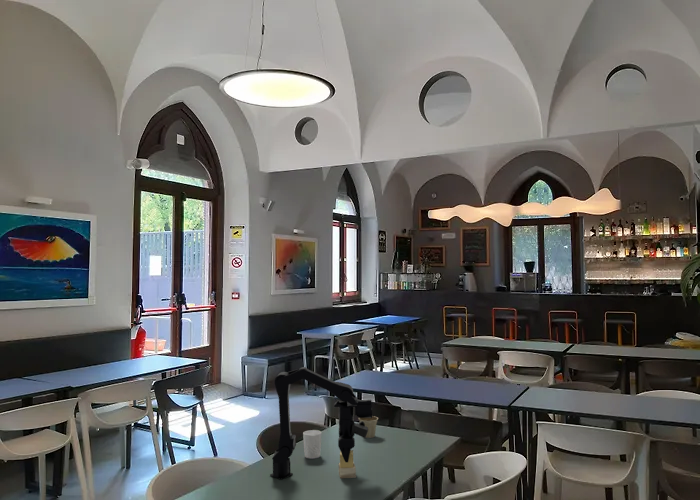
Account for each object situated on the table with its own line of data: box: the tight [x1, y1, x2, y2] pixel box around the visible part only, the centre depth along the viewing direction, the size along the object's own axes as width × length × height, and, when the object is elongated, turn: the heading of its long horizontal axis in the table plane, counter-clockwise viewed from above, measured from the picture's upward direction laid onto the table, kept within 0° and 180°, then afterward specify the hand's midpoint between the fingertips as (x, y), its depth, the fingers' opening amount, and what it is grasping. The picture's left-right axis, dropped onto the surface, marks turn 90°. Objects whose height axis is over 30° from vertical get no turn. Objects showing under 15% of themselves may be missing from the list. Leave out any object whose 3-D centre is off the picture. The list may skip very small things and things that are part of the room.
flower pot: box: [358, 415, 379, 439], centre depth 266 cm, size 9×9×9 cm
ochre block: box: [339, 449, 354, 468], centre depth 216 cm, size 5×5×5 cm
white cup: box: [302, 429, 322, 460], centre depth 239 cm, size 8×8×10 cm
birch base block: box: [338, 461, 357, 479], centre depth 216 cm, size 6×6×4 cm
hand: (346, 458), depth 216 cm, fingers open, 9 cm apart
